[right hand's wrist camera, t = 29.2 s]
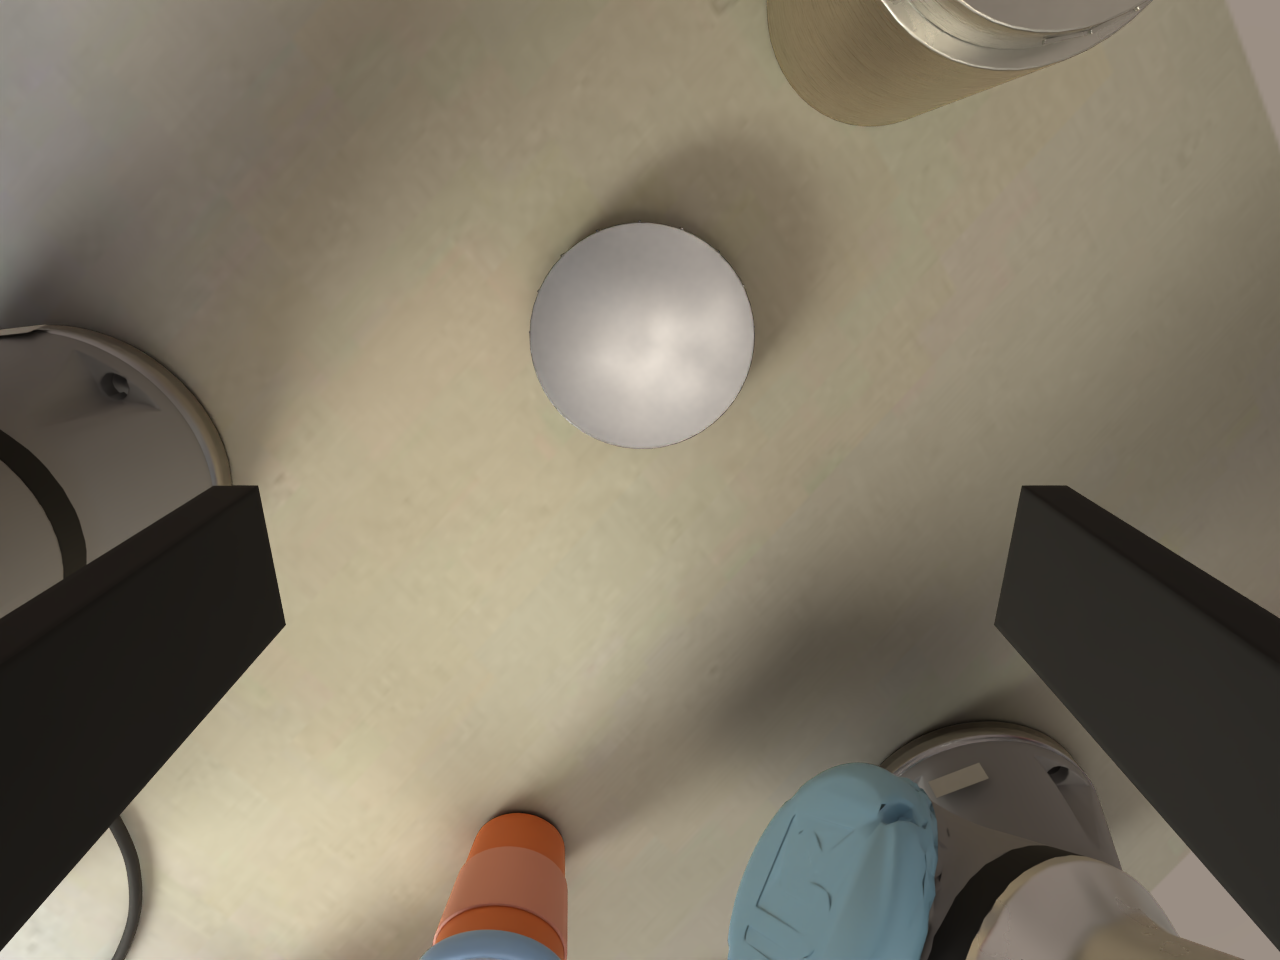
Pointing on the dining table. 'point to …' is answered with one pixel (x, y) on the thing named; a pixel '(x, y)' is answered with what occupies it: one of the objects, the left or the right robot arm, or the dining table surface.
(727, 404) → the lid
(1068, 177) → the dining table surface
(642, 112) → the dining table surface
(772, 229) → the dining table surface
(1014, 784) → the left robot arm
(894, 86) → the jar
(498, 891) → the cup with straw
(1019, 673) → the dining table surface
